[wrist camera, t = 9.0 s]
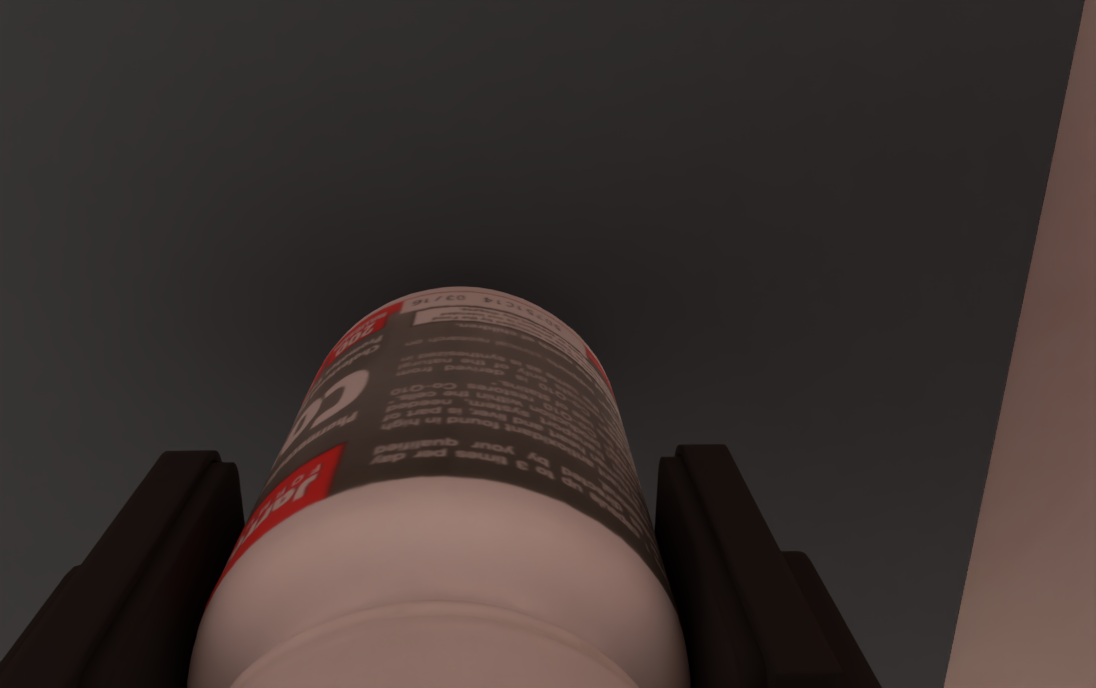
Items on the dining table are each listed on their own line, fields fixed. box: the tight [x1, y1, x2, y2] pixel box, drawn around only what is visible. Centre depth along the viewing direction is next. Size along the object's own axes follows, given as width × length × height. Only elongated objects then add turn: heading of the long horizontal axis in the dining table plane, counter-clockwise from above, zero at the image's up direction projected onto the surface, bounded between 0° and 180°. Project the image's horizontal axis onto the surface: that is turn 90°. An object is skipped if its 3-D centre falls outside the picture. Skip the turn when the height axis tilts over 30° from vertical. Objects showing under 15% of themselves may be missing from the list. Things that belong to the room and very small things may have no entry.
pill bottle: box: [187, 287, 691, 688], centre depth 10 cm, size 5×5×8 cm
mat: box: [0, 0, 1085, 688], centre depth 17 cm, size 20×16×1 cm
